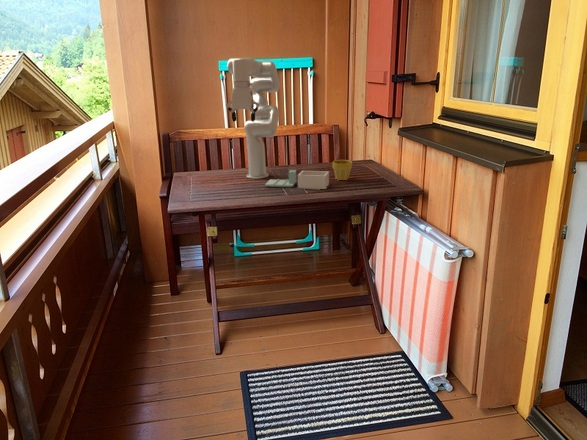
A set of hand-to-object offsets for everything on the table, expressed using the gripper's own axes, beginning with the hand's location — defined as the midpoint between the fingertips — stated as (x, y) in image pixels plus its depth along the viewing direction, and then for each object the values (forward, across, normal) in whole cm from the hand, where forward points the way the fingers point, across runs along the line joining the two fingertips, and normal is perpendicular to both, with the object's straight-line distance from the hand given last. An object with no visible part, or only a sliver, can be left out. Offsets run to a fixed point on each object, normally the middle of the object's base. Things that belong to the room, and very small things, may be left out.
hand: (243, 121), depth 227 cm
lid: (+33, -17, -6) cm, 38 cm away
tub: (+33, -34, -5) cm, 48 cm away
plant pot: (+34, -46, -22) cm, 61 cm away
